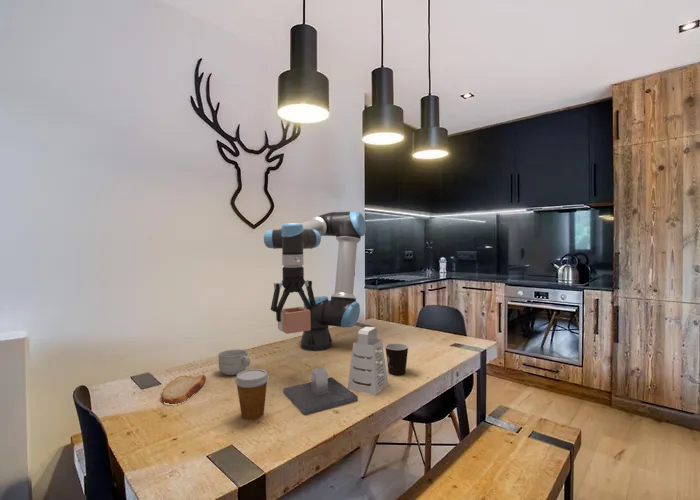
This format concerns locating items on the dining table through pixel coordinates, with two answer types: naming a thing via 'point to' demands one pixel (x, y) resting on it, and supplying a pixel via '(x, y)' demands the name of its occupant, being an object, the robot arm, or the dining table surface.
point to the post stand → (319, 393)
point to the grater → (367, 362)
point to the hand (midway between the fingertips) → (294, 328)
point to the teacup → (233, 361)
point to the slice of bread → (182, 389)
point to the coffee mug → (396, 358)
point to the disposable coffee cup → (252, 392)
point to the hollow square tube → (296, 320)
